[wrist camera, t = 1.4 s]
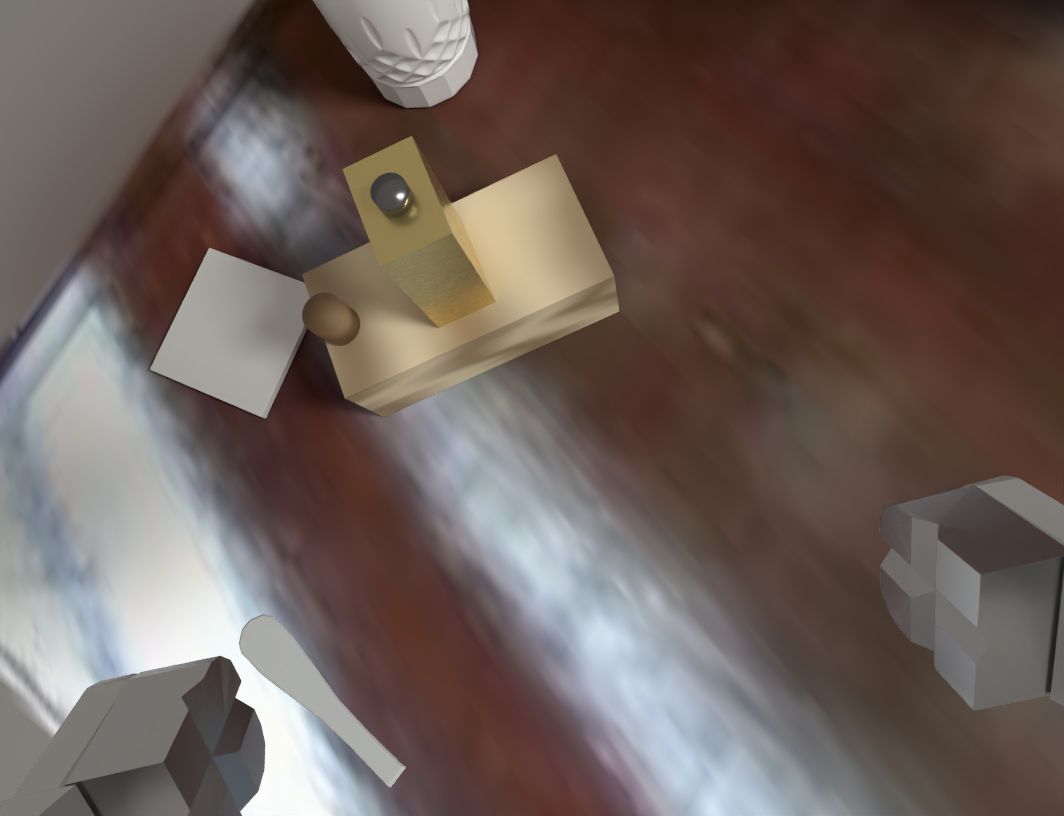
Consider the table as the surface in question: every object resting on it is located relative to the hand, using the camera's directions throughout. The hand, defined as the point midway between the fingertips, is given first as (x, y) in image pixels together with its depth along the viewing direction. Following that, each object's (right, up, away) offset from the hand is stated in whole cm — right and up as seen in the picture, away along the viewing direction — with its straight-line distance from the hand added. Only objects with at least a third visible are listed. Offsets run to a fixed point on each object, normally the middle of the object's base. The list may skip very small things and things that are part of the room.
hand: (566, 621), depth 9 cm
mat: (-18, +7, +32) cm, 37 cm away
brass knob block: (-4, +9, +25) cm, 27 cm away
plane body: (-4, +8, +30) cm, 31 cm away
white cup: (-7, +24, +34) cm, 42 cm away
